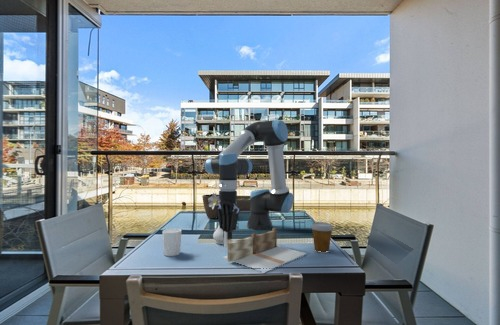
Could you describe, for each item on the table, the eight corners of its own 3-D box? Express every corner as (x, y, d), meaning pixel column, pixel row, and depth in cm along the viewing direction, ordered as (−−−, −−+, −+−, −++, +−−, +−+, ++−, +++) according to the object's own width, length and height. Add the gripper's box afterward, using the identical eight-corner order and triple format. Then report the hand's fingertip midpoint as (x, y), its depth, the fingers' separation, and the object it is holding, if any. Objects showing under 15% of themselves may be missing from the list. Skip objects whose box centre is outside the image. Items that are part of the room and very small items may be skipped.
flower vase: (220, 236, 146) (220, 189, 146) (243, 243, 133) (243, 192, 133) (199, 240, 137) (199, 191, 137) (221, 249, 124) (222, 194, 124)
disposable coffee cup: (333, 248, 126) (333, 223, 126) (332, 255, 117) (332, 227, 117) (312, 246, 130) (312, 221, 130) (309, 252, 121) (310, 225, 121)
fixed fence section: (274, 245, 129) (274, 227, 129) (277, 246, 127) (277, 228, 127) (250, 253, 117) (250, 233, 117) (253, 254, 116) (254, 234, 116)
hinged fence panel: (250, 253, 116) (250, 236, 116) (252, 253, 115) (252, 237, 115) (227, 260, 107) (227, 243, 107) (230, 261, 106) (230, 243, 106)
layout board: (266, 244, 133) (266, 242, 133) (306, 254, 118) (306, 253, 118) (223, 258, 112) (223, 256, 112) (264, 273, 97) (264, 271, 97)
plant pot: (199, 219, 189) (199, 196, 189) (206, 215, 203) (206, 194, 203) (219, 220, 186) (220, 197, 186) (225, 216, 201) (225, 194, 201)
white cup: (164, 250, 121) (164, 228, 121) (182, 250, 122) (182, 228, 122) (160, 257, 113) (160, 233, 113) (179, 256, 114) (179, 232, 114)
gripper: (211, 189, 115) (210, 245, 115) (232, 192, 107) (231, 252, 107) (224, 188, 121) (223, 241, 121) (245, 190, 112) (244, 248, 112)
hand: (227, 246), depth 114 cm, fingers closed
